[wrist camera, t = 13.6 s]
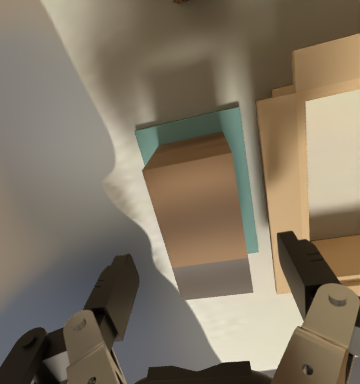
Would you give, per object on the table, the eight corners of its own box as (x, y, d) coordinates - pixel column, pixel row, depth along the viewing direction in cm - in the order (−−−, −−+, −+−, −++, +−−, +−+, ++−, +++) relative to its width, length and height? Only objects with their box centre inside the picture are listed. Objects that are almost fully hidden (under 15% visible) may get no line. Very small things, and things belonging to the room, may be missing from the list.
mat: (136, 130, 19) (134, 131, 19) (238, 106, 18) (239, 107, 18) (175, 260, 24) (174, 263, 24) (257, 248, 23) (258, 252, 23)
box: (158, 145, 19) (141, 170, 14) (222, 131, 18) (231, 152, 13) (186, 248, 23) (182, 300, 18) (240, 240, 22) (253, 292, 17)
